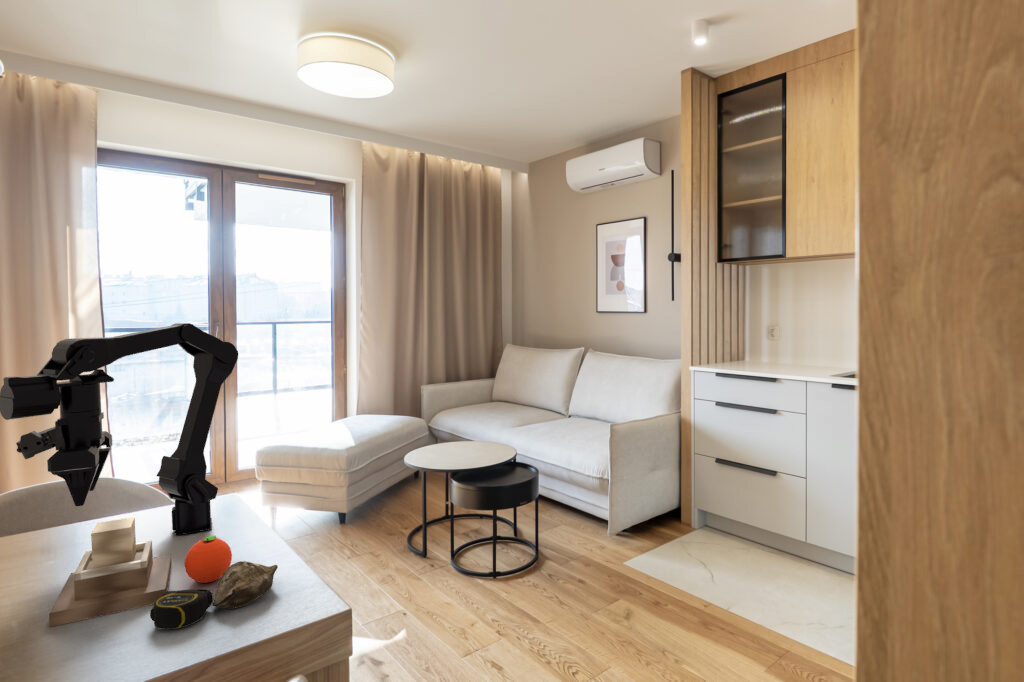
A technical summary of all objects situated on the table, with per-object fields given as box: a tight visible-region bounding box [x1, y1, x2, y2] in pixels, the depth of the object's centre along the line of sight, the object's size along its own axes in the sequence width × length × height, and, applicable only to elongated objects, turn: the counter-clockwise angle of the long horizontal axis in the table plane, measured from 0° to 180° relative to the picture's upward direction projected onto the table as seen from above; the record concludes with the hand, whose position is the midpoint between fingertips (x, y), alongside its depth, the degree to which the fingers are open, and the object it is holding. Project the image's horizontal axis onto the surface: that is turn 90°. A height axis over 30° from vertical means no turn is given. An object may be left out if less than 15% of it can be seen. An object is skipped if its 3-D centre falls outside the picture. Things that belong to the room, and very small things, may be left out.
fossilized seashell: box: [212, 560, 278, 610], centre depth 86 cm, size 8×7×10 cm
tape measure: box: [149, 588, 214, 630], centre depth 80 cm, size 7×7×4 cm
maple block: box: [90, 516, 137, 569], centre depth 88 cm, size 5×5×6 cm
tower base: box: [48, 539, 172, 628], centre depth 88 cm, size 14×14×6 cm
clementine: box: [183, 535, 233, 584], centre depth 92 cm, size 8×7×7 cm
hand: (85, 498), depth 98 cm, fingers open, 9 cm apart
